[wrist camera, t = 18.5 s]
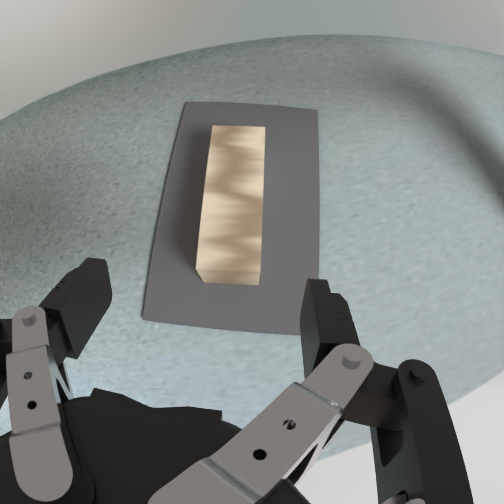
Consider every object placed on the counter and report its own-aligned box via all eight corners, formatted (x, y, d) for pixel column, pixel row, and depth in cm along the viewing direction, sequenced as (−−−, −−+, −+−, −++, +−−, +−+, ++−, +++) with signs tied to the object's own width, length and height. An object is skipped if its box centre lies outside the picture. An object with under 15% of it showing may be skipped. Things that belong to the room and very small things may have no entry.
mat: (316, 112, 37) (317, 110, 36) (314, 336, 29) (315, 335, 29) (186, 104, 37) (186, 101, 36) (144, 320, 29) (142, 319, 29)
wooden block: (258, 285, 30) (263, 155, 34) (260, 272, 25) (265, 127, 29) (203, 282, 30) (216, 154, 34) (195, 268, 25) (212, 125, 29)
